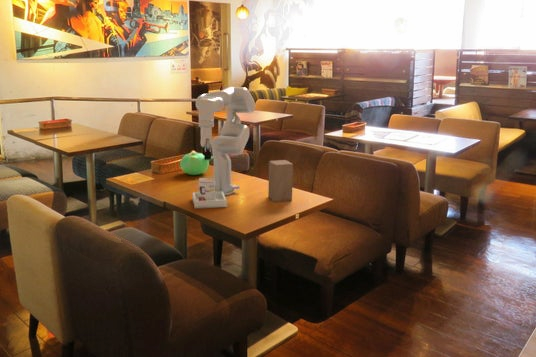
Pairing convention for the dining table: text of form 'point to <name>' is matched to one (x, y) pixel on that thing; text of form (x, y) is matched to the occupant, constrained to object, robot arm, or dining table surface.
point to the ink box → (207, 189)
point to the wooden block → (280, 180)
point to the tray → (210, 201)
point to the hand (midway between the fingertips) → (206, 157)
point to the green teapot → (194, 163)
